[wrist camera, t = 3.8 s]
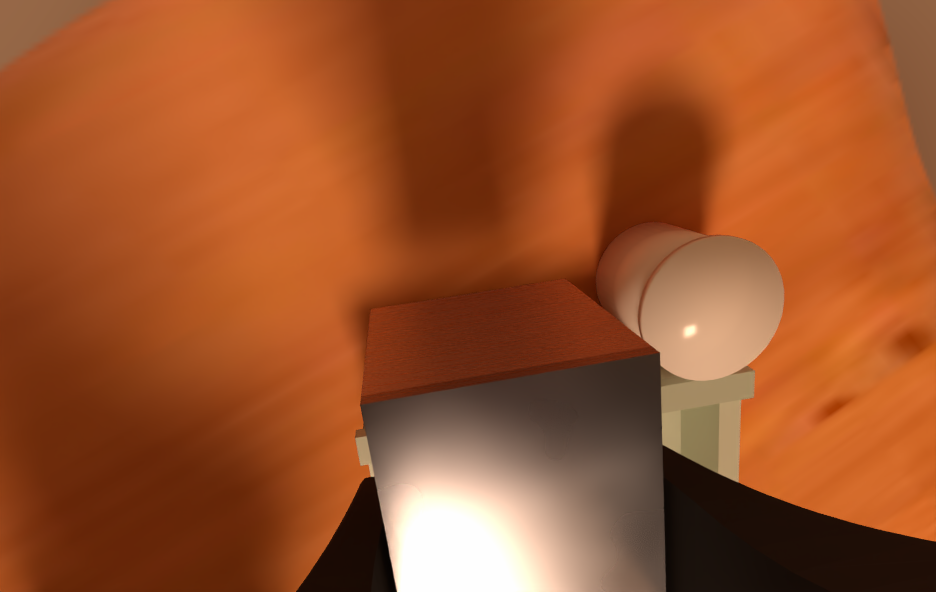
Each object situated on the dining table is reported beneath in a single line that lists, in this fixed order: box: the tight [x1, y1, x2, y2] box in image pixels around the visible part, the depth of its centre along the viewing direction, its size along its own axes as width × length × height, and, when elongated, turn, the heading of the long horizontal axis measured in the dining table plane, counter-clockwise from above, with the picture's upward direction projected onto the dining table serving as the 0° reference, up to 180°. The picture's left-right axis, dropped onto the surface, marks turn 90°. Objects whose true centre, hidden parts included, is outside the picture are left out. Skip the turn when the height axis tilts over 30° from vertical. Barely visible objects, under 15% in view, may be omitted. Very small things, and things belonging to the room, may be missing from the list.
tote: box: [355, 365, 755, 482], centre depth 21 cm, size 13×12×4 cm
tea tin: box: [360, 279, 666, 592], centre depth 12 cm, size 5×8×5 cm, turn 7°
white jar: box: [596, 222, 784, 381], centre depth 19 cm, size 5×5×4 cm
